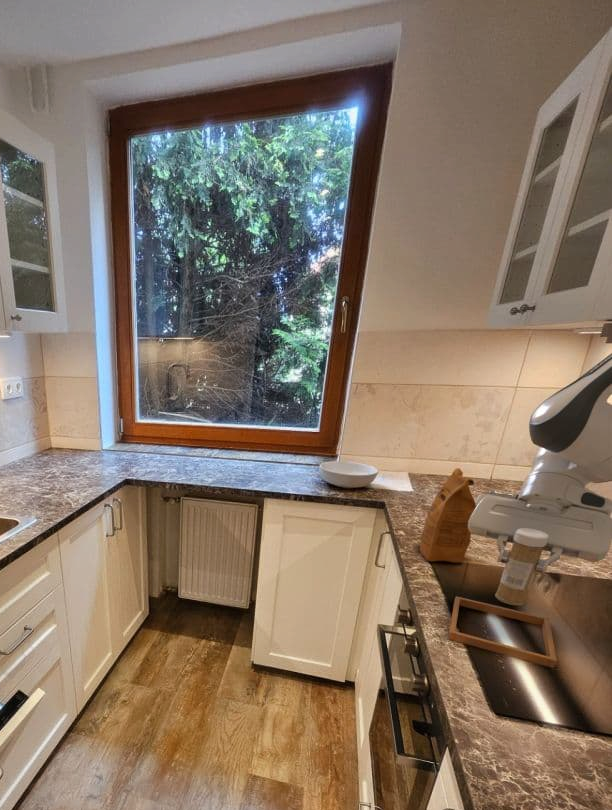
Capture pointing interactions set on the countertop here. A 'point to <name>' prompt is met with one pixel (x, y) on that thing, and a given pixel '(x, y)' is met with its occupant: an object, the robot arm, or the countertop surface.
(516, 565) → the sprinkles bottle
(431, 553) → the coffee package
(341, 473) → the serving bowl
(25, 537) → the countertop surface
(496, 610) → the wooden frame
